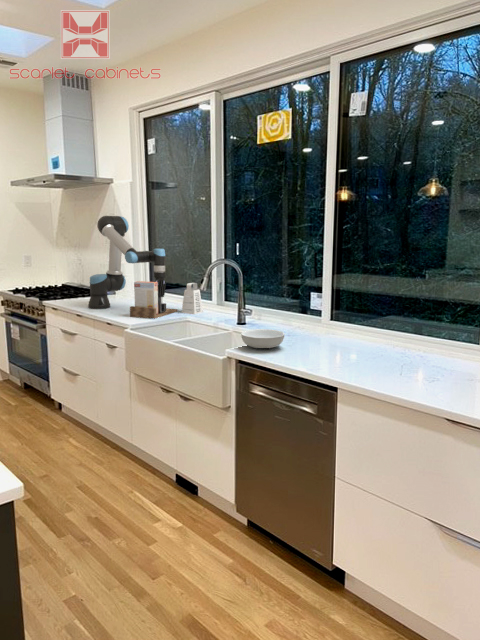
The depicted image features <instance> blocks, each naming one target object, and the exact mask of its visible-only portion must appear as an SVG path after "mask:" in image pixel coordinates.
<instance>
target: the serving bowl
mask: <svg viewBox="0 0 480 640" xmlns="http://www.w3.org/2000/svg"><path fill="white" fill-rule="evenodd" d="M240 334H241V335H240V337H241V339H242V342H243V343H244V344H245V345H246V346H249V348H254V349H257V348H269V349H271V348H272V349H273V348H276V347H278V346H280V345H281V344H282V343H283V342H284V339H285V333H284V332H283V331H281V330H277V329H267V328H262V329H261V328H258V329H257V328H256V329H247V330H244V331H242V332H240Z"/></svg>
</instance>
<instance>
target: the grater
mask: <svg viewBox="0 0 480 640" xmlns="http://www.w3.org/2000/svg"><path fill="white" fill-rule="evenodd" d="M203 310H204V309H203V302H202V297H201V290H200V289H199V288H198V283H197V282H189V283H187V284H186V289H184V292H183V298H182V307H181V314H188V315H197V314H201V313H203V312H204V311H203Z"/></svg>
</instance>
